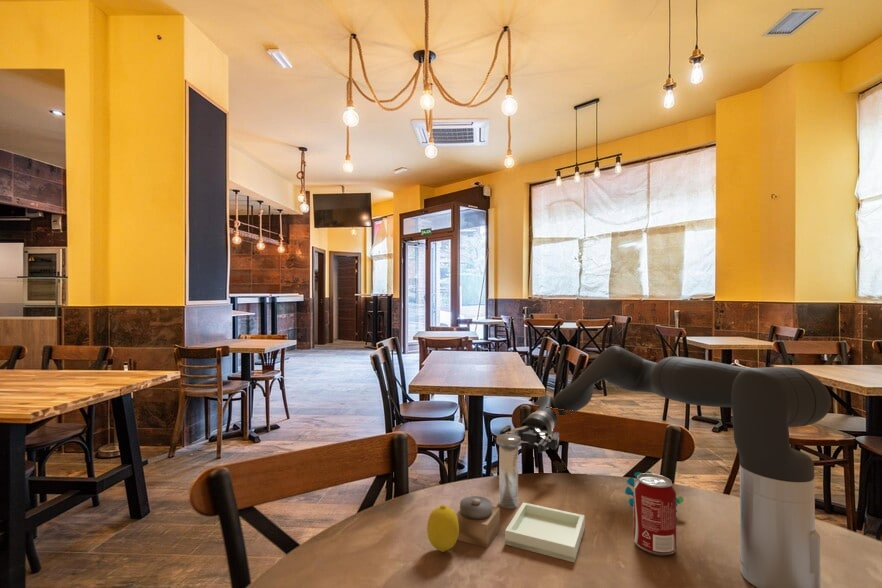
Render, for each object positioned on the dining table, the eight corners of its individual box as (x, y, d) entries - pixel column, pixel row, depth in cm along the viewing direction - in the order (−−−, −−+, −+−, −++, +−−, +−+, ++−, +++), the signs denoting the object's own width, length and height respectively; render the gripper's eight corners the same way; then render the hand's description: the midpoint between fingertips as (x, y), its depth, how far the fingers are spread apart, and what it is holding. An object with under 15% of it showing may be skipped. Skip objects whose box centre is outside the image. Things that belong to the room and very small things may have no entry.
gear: (627, 513, 85) (625, 464, 92) (620, 523, 89) (619, 476, 96) (688, 527, 83) (681, 476, 90) (678, 537, 87) (672, 488, 94)
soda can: (681, 561, 72) (681, 489, 72) (638, 556, 74) (638, 485, 74) (669, 539, 79) (668, 473, 79) (629, 535, 80) (629, 470, 80)
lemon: (437, 539, 78) (437, 495, 78) (464, 548, 75) (464, 502, 76) (420, 554, 74) (421, 507, 74) (448, 565, 71) (449, 516, 71)
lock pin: (523, 501, 93) (523, 436, 93) (517, 512, 89) (517, 443, 89) (500, 496, 96) (500, 432, 96) (493, 506, 91) (493, 439, 91)
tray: (584, 528, 82) (584, 515, 82) (574, 562, 72) (574, 547, 72) (523, 514, 88) (523, 502, 88) (505, 544, 77) (505, 530, 77)
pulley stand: (499, 529, 82) (499, 496, 82) (487, 547, 76) (487, 512, 76) (465, 520, 85) (466, 489, 85) (451, 538, 79) (451, 504, 79)
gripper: (512, 410, 120) (493, 425, 106) (564, 417, 114) (552, 434, 99) (512, 437, 120) (493, 456, 106) (564, 445, 114) (551, 467, 99)
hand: (521, 445), depth 103 cm, fingers open, 8 cm apart
